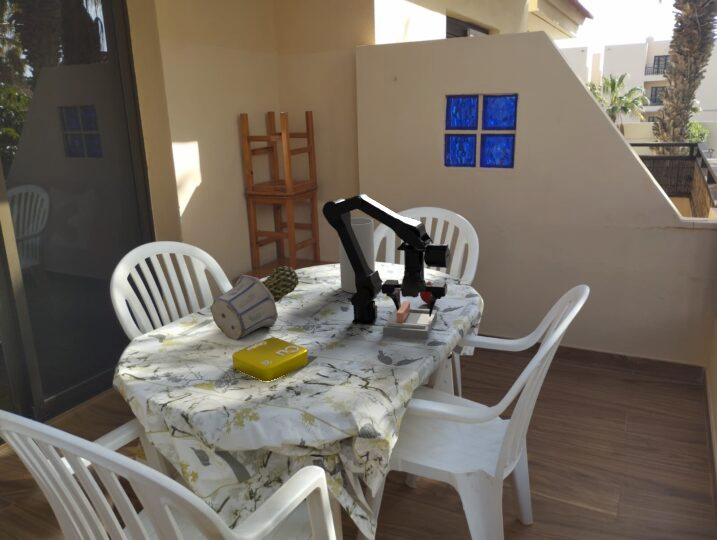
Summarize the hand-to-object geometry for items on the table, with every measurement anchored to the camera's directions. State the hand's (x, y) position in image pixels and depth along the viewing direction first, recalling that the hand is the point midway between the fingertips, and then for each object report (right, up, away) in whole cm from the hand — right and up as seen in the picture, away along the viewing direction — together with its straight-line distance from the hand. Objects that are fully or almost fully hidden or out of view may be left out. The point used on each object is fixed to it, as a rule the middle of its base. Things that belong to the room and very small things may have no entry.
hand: (414, 315), depth 171 cm
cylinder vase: (-17, +7, +38) cm, 42 cm away
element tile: (-40, -12, -20) cm, 46 cm away
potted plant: (-46, -4, +7) cm, 47 cm away
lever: (-3, 0, +1) cm, 4 cm away
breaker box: (-1, -3, +1) cm, 4 cm away
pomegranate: (+7, +2, +19) cm, 20 cm away
